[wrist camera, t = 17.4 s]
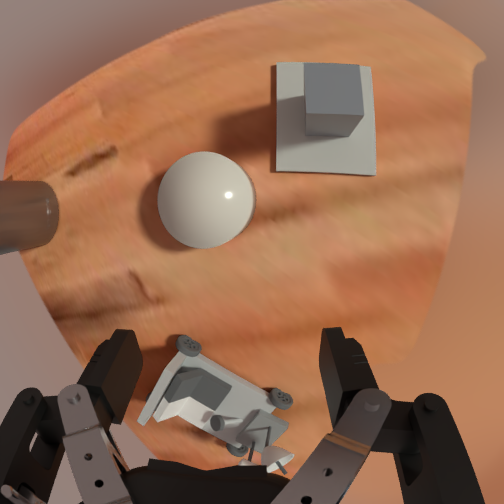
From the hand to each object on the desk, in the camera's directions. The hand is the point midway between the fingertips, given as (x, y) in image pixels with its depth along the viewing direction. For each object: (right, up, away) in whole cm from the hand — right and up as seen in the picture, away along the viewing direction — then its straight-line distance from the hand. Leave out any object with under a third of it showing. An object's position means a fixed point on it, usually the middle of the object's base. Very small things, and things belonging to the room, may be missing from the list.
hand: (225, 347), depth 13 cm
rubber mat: (+9, +18, +16) cm, 26 cm away
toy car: (-2, -15, +24) cm, 28 cm away
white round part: (-3, +9, +19) cm, 22 cm away
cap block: (+8, +18, +16) cm, 25 cm away
